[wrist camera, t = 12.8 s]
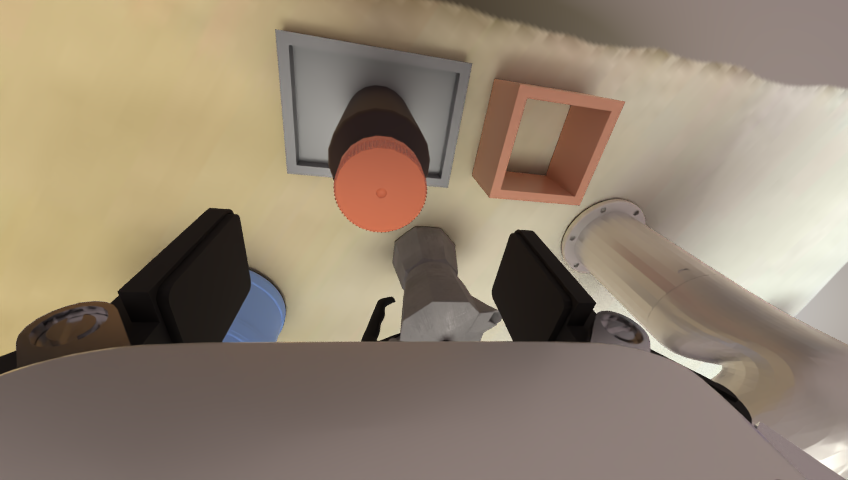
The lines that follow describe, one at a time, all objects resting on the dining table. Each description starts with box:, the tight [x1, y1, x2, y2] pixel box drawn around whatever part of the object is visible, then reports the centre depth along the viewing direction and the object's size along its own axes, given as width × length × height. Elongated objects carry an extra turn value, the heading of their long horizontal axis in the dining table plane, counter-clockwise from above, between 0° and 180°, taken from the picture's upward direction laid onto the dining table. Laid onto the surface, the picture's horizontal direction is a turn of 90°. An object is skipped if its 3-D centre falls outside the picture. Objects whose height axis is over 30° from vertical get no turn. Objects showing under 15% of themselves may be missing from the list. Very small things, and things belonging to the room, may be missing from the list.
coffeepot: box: [361, 227, 502, 342], centre depth 36 cm, size 15×9×18 cm, turn 104°
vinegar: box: [328, 85, 430, 233], centre depth 24 cm, size 7×7×20 cm
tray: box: [275, 29, 472, 188], centre depth 33 cm, size 18×13×2 cm
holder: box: [472, 79, 625, 205], centre depth 34 cm, size 11×11×7 cm
